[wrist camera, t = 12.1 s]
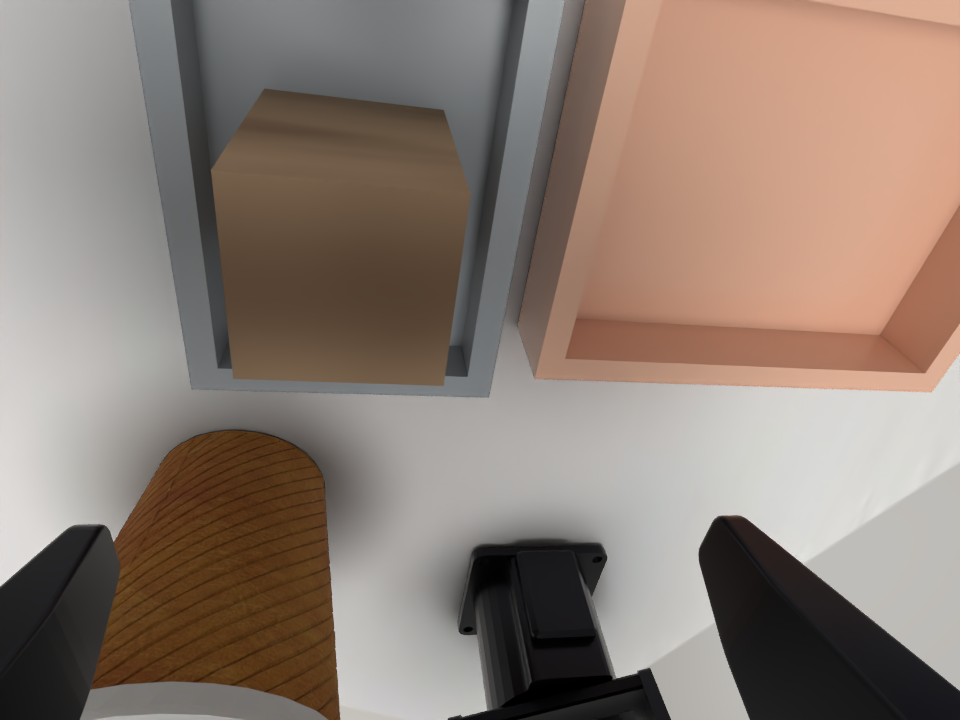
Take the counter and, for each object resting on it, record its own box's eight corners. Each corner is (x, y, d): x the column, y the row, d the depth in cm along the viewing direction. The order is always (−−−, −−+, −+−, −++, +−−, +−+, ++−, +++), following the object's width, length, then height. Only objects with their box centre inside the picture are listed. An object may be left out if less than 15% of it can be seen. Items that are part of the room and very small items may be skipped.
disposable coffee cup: (198, 349, 20) (35, 741, 11) (414, 472, 25) (435, 822, 15) (62, 504, 24) (-157, 912, 14) (275, 588, 28) (221, 936, 19)
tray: (478, 353, 22) (488, 397, 20) (210, 341, 20) (191, 389, 18) (547, -47, 15) (572, -40, 13) (149, -114, 13) (109, -118, 11)
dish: (876, 344, 24) (931, 392, 22) (517, 326, 21) (534, 378, 19) (1083, 10, 18) (1194, 26, 15) (601, -78, 15) (644, -76, 12)
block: (427, 264, 19) (443, 386, 14) (272, 252, 18) (233, 378, 13) (443, 109, 16) (470, 194, 11) (264, 88, 15) (211, 169, 10)
